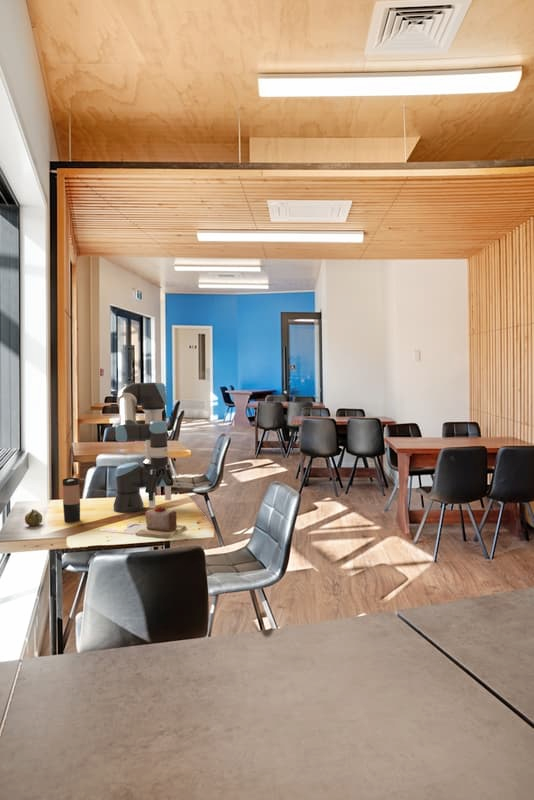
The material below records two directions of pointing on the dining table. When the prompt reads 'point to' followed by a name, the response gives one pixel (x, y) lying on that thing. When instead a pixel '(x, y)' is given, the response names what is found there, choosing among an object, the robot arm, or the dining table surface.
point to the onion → (33, 518)
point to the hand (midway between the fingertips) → (160, 503)
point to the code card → (128, 528)
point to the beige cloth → (160, 532)
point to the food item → (161, 519)
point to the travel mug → (71, 500)
